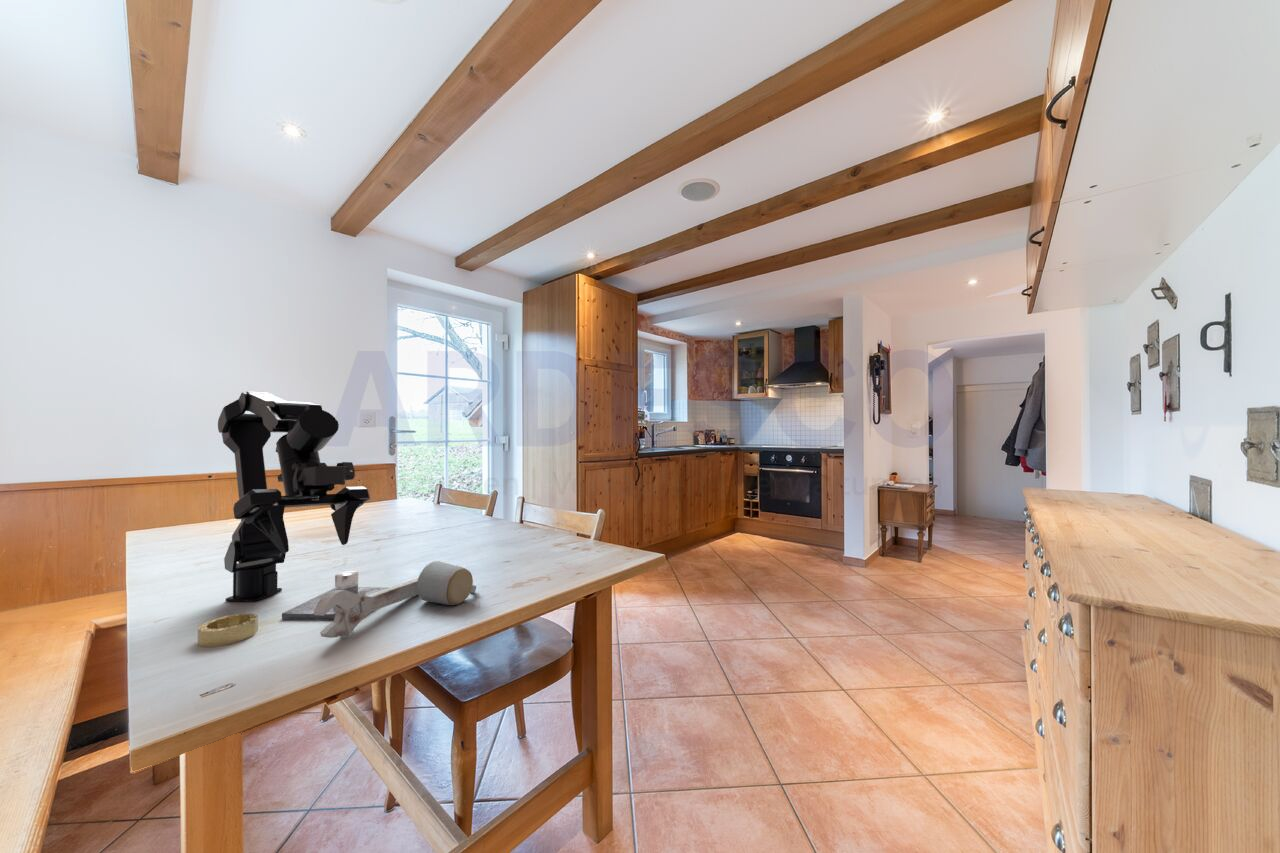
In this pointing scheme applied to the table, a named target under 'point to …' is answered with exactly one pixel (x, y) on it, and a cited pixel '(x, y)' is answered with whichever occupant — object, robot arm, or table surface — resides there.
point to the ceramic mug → (445, 583)
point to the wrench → (358, 606)
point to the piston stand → (342, 582)
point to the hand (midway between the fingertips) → (317, 548)
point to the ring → (227, 629)
